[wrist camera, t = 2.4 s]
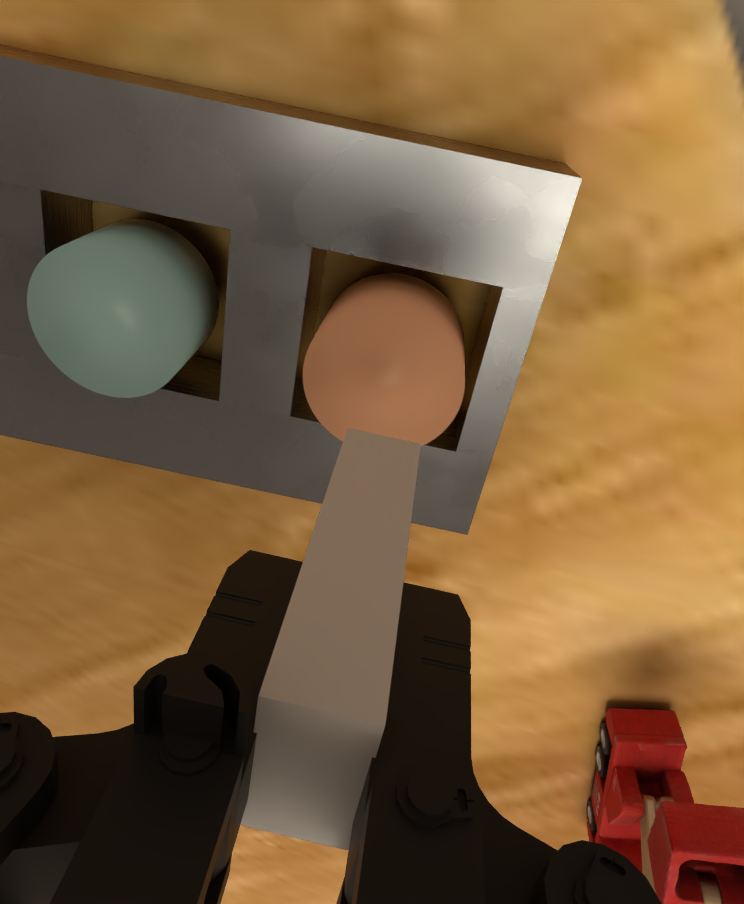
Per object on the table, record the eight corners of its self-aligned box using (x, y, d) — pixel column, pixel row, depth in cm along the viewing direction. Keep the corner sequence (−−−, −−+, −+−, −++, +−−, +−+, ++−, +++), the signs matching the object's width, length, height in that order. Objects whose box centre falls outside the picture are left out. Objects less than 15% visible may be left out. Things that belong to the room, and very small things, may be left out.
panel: (-128, 361, 26) (-192, 393, 24) (-211, 0, 20) (-310, -10, 17) (466, 488, 26) (467, 534, 23) (566, 164, 20) (582, 178, 17)
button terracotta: (312, 393, 22) (293, 435, 20) (332, 259, 20) (313, 287, 17) (445, 421, 22) (443, 467, 20) (480, 290, 20) (484, 323, 17)
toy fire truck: (581, 823, 36) (618, 1049, 28) (613, 641, 29) (675, 868, 21) (645, 828, 36) (702, 1059, 27) (693, 644, 29) (789, 878, 20)
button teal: (82, 344, 22) (33, 380, 20) (75, 204, 20) (19, 224, 18) (215, 372, 22) (183, 412, 20) (222, 236, 20) (188, 261, 18)
